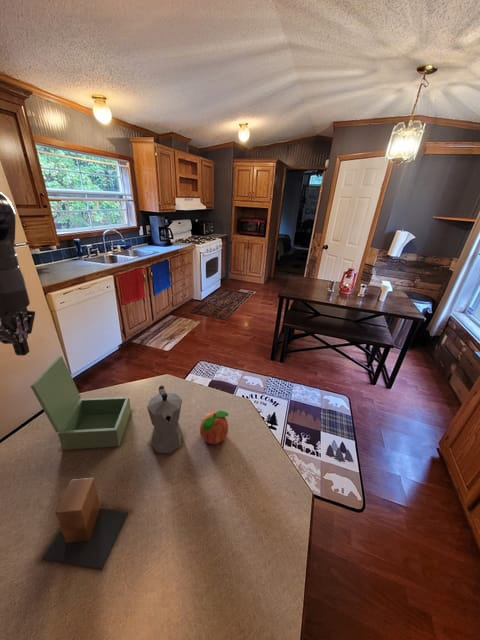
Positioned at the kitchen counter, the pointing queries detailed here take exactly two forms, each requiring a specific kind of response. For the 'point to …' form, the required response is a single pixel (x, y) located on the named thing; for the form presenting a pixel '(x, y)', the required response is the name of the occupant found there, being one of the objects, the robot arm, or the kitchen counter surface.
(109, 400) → the open box
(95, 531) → the plate
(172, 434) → the coffeepot
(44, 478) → the kitchen counter surface
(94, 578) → the kitchen counter surface
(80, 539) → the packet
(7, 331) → the robot arm
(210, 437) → the fruit
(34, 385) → the lid
